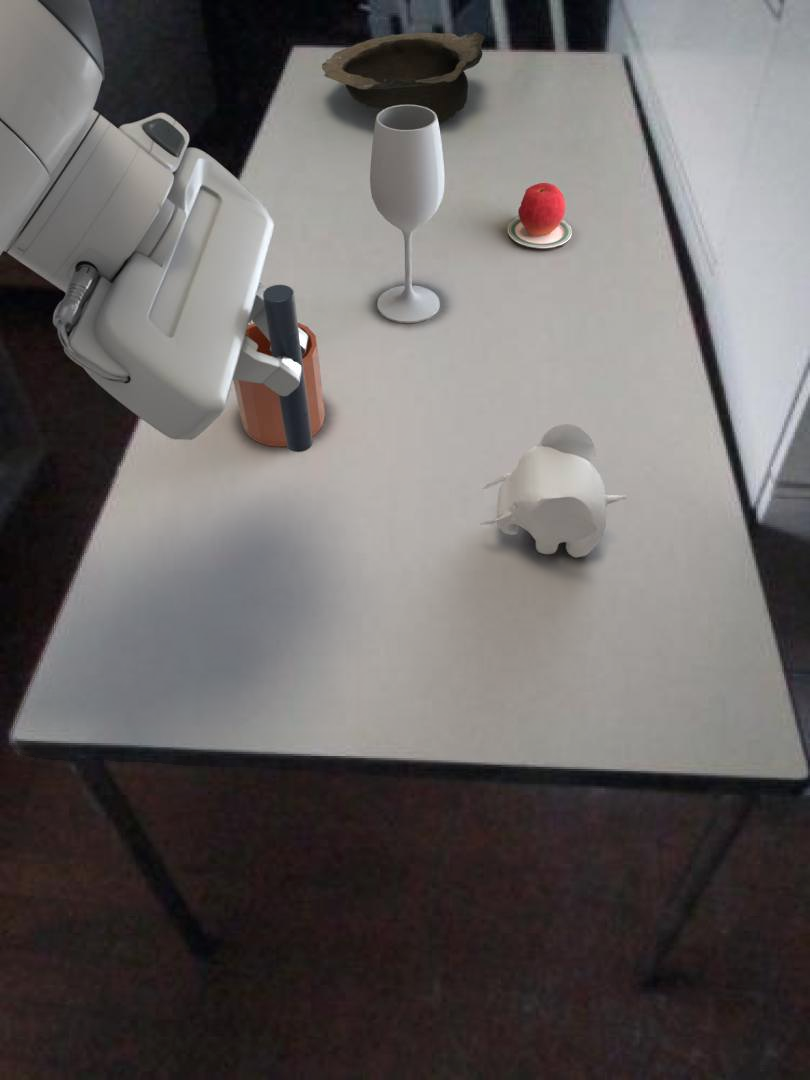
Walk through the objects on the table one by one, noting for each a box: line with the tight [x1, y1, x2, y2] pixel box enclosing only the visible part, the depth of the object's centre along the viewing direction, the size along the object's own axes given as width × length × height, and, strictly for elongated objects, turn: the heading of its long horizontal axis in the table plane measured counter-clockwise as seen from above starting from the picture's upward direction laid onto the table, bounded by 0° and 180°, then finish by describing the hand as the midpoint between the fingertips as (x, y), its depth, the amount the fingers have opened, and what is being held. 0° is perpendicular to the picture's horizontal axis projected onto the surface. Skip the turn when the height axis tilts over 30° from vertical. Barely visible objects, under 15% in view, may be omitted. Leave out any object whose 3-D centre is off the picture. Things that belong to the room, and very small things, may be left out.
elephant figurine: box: [479, 423, 627, 558], centre depth 72 cm, size 10×12×9 cm
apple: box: [507, 182, 573, 249], centre depth 105 cm, size 8×8×6 cm
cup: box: [232, 322, 326, 448], centre depth 82 cm, size 8×8×9 cm
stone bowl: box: [321, 31, 486, 123], centre depth 130 cm, size 25×25×9 cm
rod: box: [263, 284, 314, 453], centre depth 54 cm, size 2×2×12 cm
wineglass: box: [369, 105, 445, 324], centre depth 90 cm, size 8×8×21 cm
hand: (298, 367), depth 54 cm, fingers closed on rod, 2 cm apart
